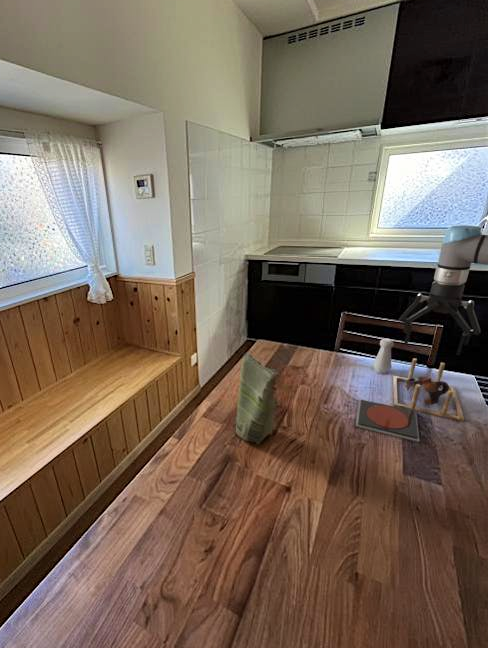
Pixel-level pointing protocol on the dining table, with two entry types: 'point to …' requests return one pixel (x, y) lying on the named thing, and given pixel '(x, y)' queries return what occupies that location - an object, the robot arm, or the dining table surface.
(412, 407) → the drying rack
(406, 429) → the hob
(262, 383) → the pouch
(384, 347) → the salt shaker
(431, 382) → the pottery mug
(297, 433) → the dining table surface
